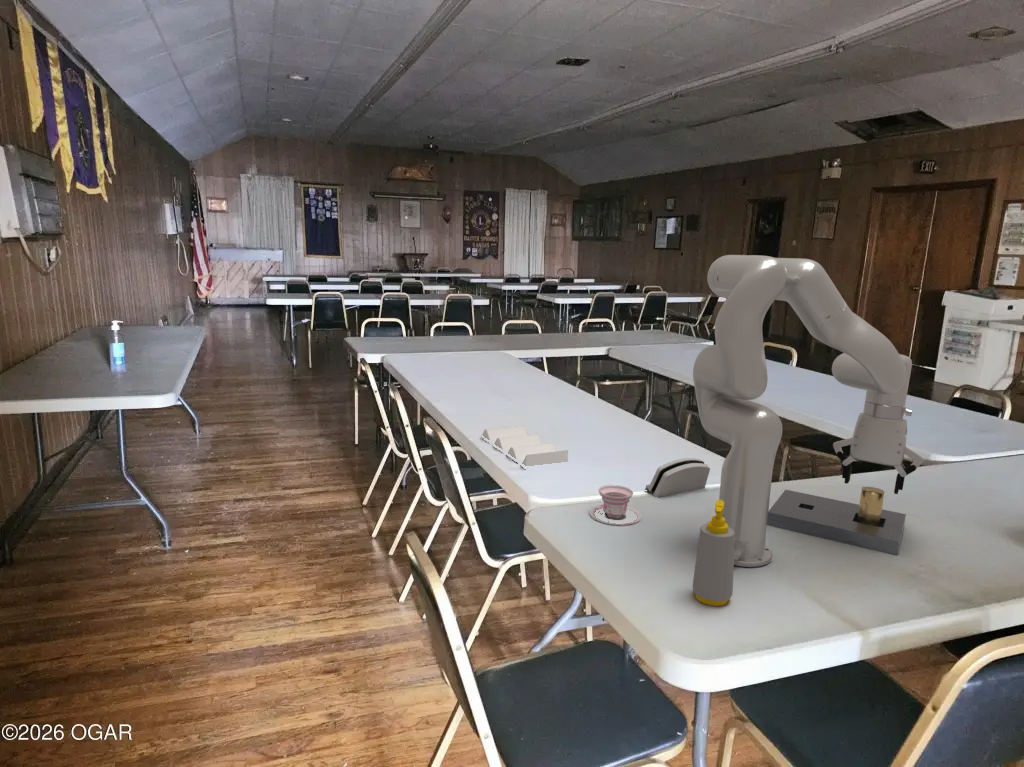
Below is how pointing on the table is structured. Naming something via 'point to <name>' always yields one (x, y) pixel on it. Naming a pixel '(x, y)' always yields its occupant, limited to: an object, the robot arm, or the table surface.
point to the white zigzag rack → (525, 446)
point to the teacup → (615, 503)
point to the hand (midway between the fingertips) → (871, 487)
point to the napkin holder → (679, 477)
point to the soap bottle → (715, 560)
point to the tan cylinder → (870, 506)
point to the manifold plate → (836, 521)
